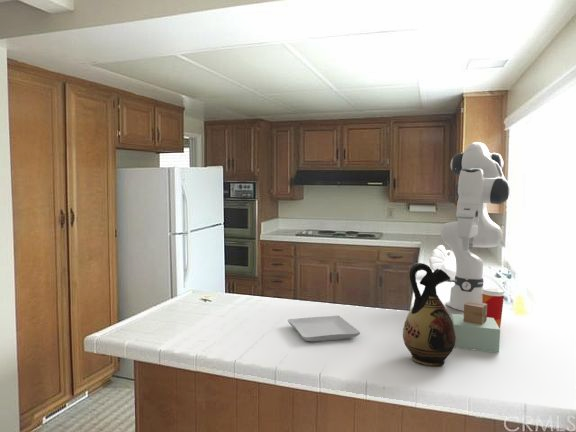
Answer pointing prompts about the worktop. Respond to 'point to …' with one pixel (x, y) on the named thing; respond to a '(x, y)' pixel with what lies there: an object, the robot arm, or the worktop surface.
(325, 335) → the salad plate
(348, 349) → the worktop surface
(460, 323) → the sage box
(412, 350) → the ceramic jug
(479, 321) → the walnut block
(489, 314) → the coffee cup
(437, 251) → the decorative rooster
